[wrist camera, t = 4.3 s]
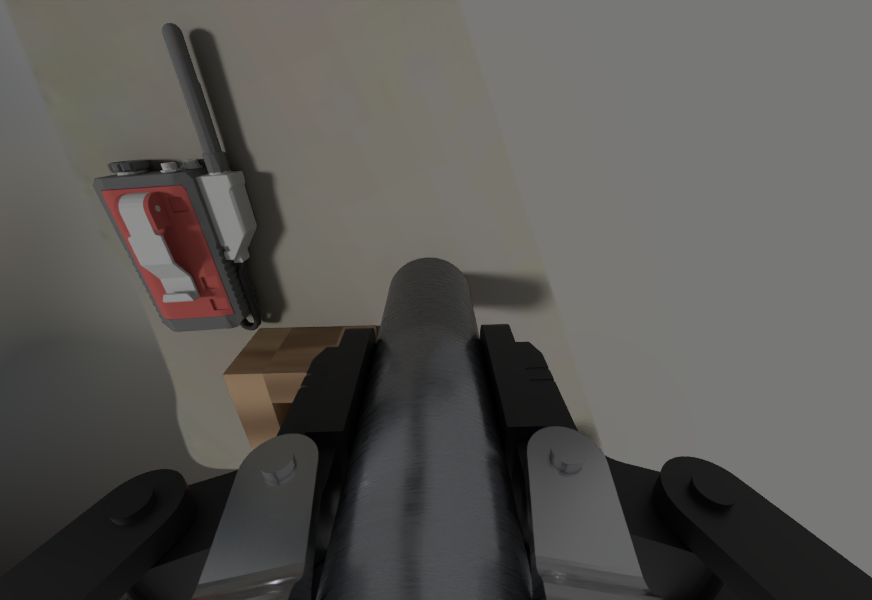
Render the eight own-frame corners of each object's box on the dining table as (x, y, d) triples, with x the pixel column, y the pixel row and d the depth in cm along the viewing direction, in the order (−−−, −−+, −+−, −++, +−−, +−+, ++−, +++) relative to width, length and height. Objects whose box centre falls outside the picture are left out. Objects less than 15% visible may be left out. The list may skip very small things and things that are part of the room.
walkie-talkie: (290, 318, 30) (202, 27, 21) (269, 348, 26) (149, 6, 17) (190, 324, 30) (57, 38, 21) (154, 355, 26) (-30, 21, 17)
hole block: (259, 328, 30) (222, 374, 25) (375, 325, 30) (364, 371, 25) (285, 413, 35) (259, 467, 29) (386, 411, 35) (378, 464, 29)
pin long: (385, 258, 12) (115, 1130, 2) (470, 256, 12) (705, 1113, 2) (392, 329, 14) (265, 1049, 3) (468, 327, 14) (593, 1043, 3)
